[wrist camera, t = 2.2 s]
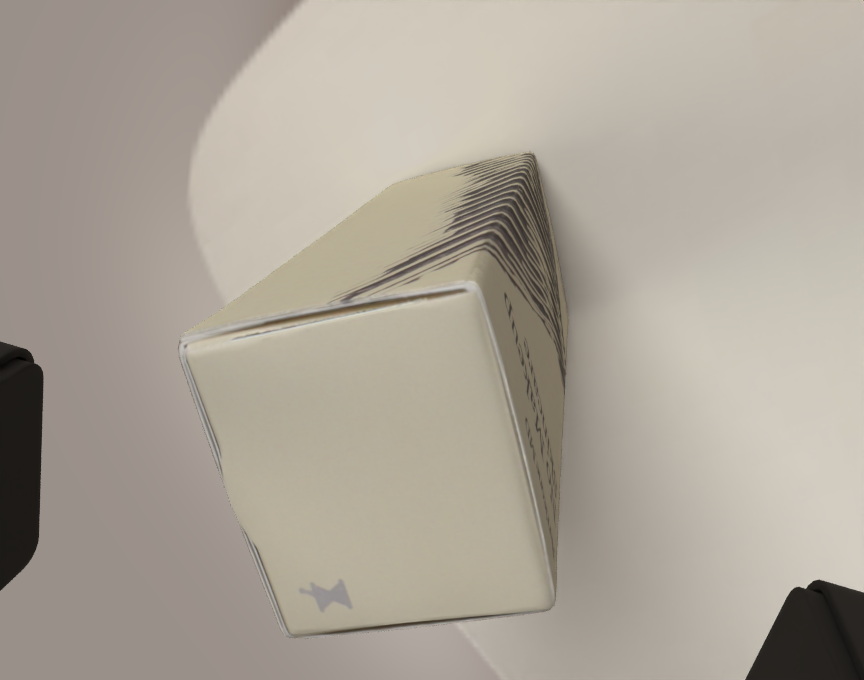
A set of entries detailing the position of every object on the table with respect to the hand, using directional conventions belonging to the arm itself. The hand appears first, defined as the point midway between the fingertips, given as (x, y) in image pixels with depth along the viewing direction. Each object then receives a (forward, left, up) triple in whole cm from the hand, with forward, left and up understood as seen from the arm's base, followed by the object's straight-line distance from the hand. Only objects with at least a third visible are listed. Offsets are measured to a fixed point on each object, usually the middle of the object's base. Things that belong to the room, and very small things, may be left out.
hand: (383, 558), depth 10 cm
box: (0, 0, -14) cm, 14 cm away
